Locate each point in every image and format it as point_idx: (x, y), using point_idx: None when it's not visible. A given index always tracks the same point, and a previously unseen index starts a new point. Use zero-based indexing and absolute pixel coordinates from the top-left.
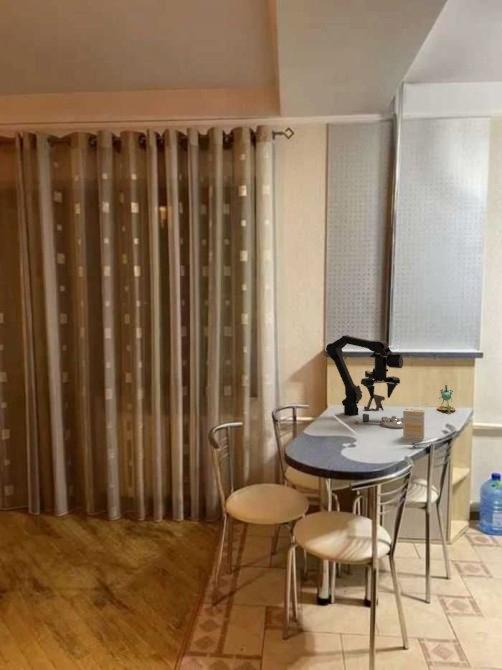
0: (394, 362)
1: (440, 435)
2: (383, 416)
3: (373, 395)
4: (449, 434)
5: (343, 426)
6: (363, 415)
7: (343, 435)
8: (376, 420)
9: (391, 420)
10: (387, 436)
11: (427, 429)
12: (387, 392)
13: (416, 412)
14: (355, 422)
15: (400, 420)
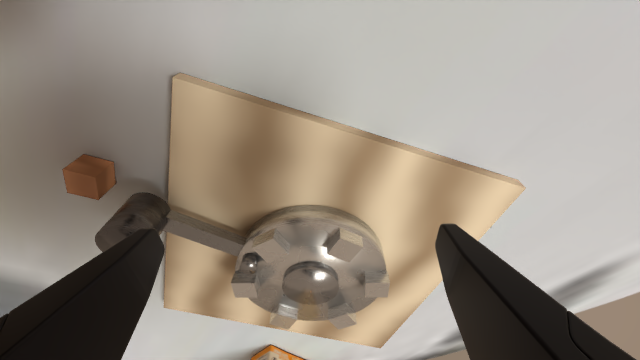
0: None
1: (410, 350)
2: (271, 239)
3: (134, 321)
4: (449, 350)
5: (12, 159)
6: (103, 247)
7: (28, 279)
8: (215, 237)
9: (285, 290)
10: (217, 322)
11: (434, 301)
12: (487, 283)
13: None
14: (78, 193)
15: (349, 281)
